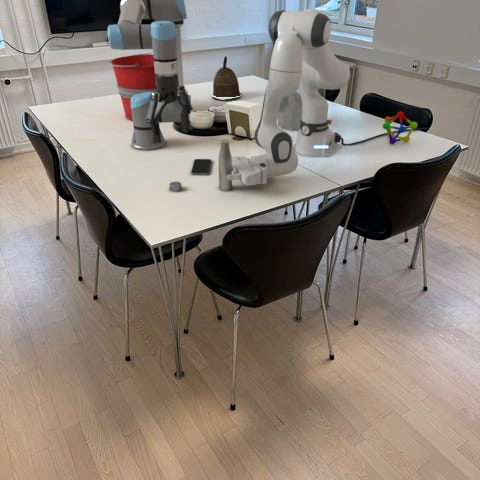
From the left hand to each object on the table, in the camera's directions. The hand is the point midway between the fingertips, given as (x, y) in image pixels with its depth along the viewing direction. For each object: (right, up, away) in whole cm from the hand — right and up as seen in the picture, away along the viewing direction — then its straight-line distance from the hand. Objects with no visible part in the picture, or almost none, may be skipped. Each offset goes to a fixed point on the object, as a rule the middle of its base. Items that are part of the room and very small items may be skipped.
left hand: (171, 136), depth 156 cm
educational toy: (+98, +10, +55) cm, 113 cm away
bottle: (+19, -17, +11) cm, 28 cm away
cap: (0, -16, +9) cm, 18 cm away
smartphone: (+8, -6, +28) cm, 30 cm away
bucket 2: (+53, +24, +77) cm, 97 cm away
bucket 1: (-27, +33, +91) cm, 101 cm away
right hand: (+18, -12, +7) cm, 23 cm away
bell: (+16, +54, +125) cm, 137 cm away
